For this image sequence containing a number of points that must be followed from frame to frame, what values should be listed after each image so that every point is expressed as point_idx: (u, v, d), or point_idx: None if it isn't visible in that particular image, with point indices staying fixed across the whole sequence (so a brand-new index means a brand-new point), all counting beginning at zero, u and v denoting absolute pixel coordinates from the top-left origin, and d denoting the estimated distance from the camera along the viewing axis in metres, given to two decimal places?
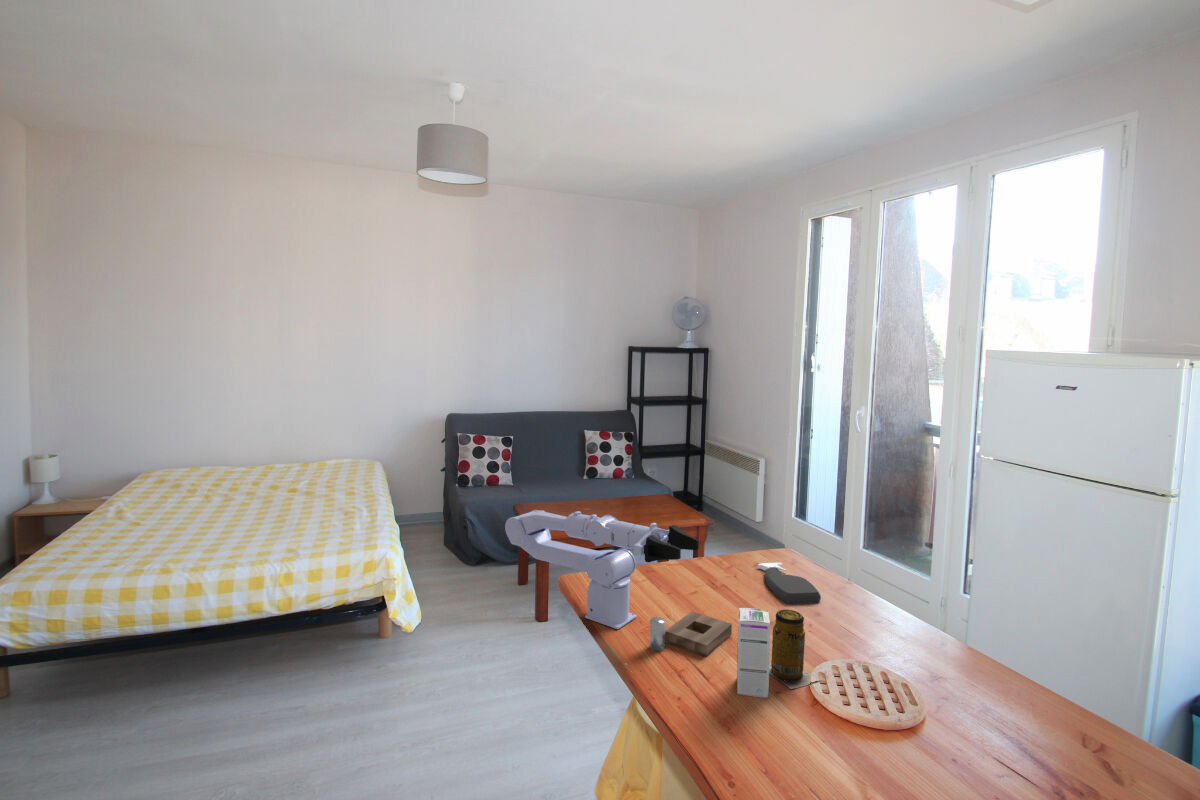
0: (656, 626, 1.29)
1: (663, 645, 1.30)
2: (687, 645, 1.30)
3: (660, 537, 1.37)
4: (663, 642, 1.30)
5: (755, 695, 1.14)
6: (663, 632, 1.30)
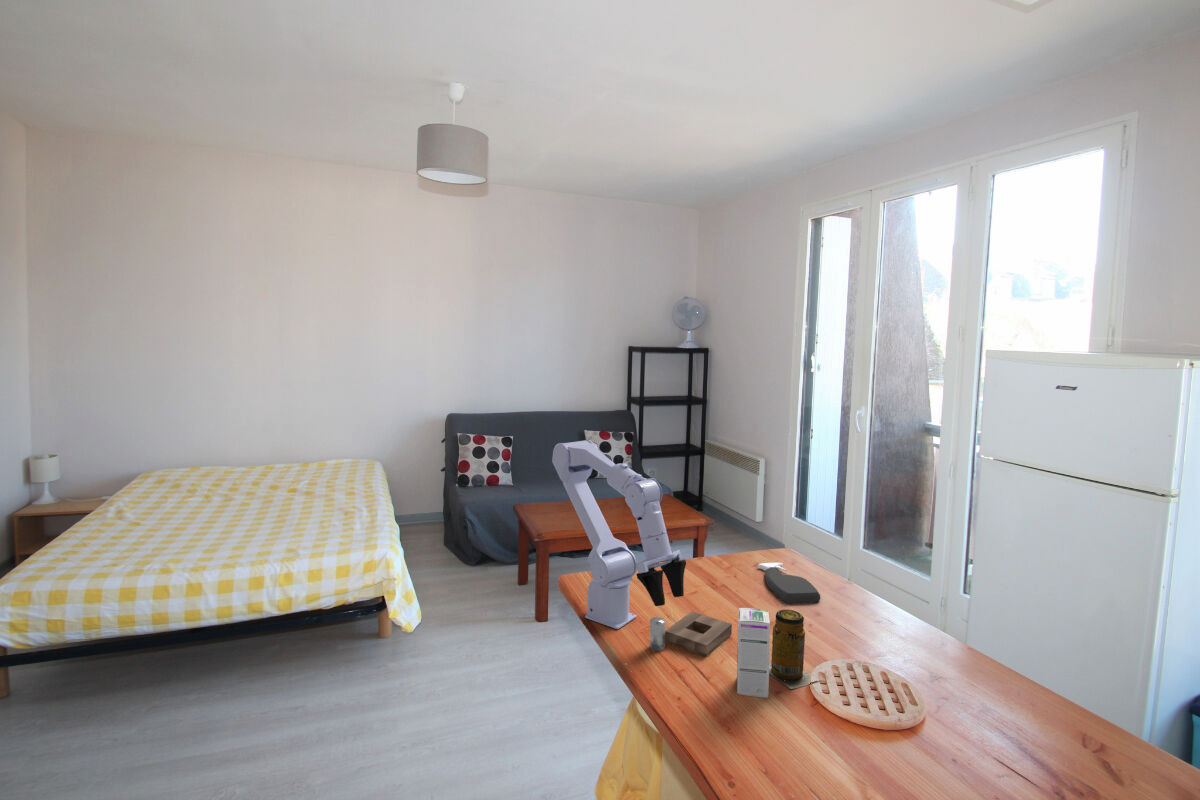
0: (656, 626, 1.29)
1: (663, 645, 1.30)
2: (687, 645, 1.30)
3: None
4: (663, 642, 1.30)
5: (755, 695, 1.14)
6: (663, 632, 1.30)
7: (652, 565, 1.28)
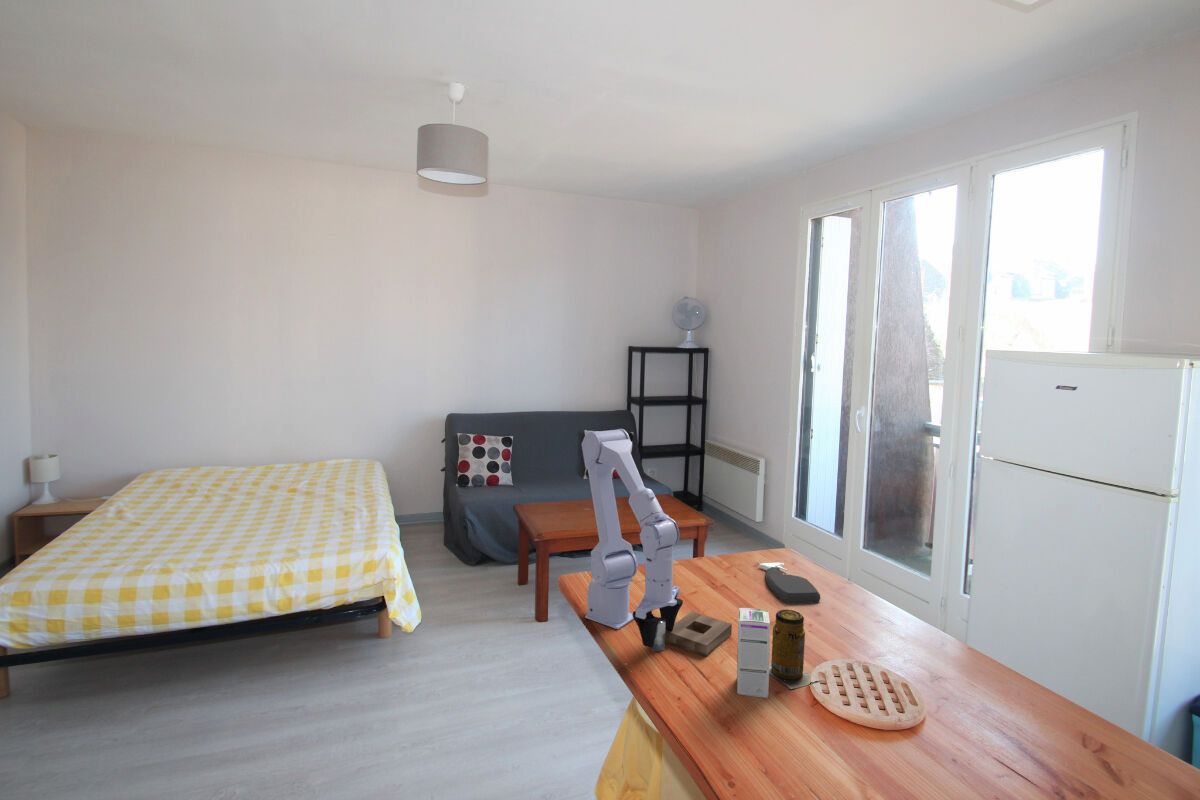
0: None
1: (663, 645, 1.30)
2: (687, 645, 1.30)
3: None
4: (663, 642, 1.30)
5: (755, 695, 1.14)
6: (663, 632, 1.30)
7: None
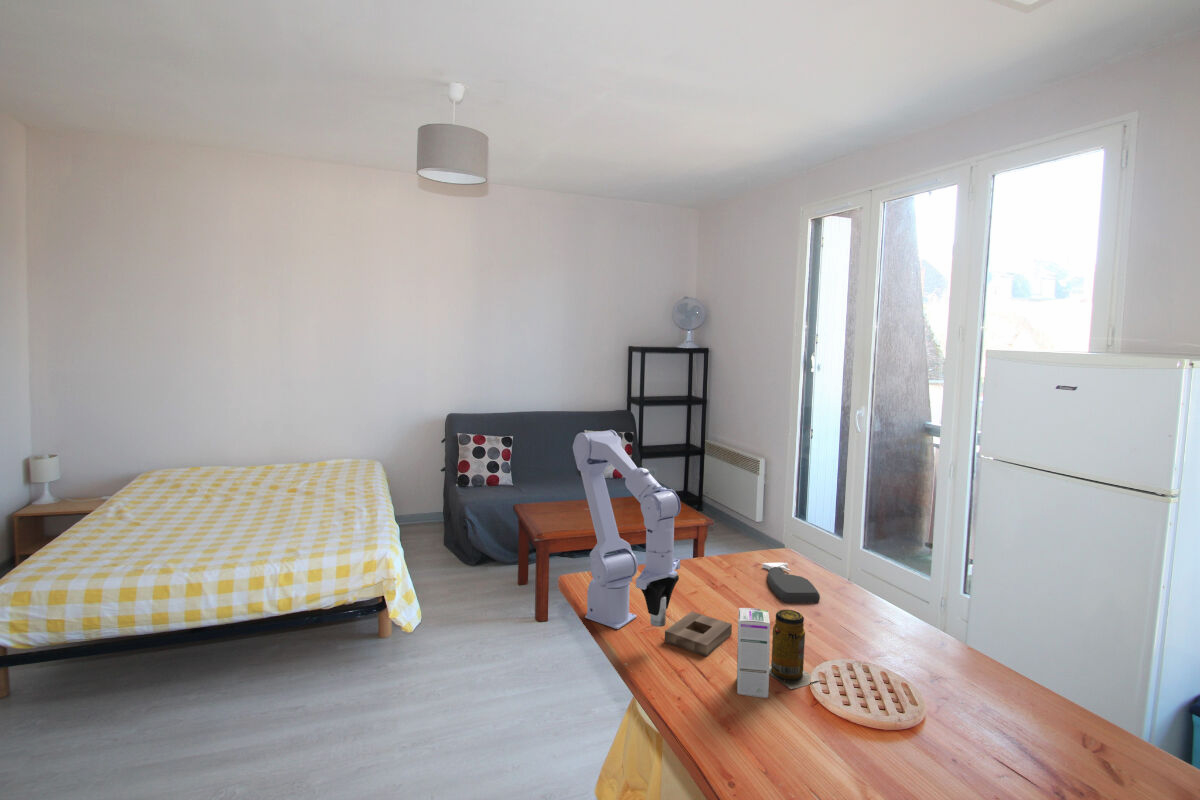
0: None
1: (664, 620, 1.30)
2: (687, 645, 1.30)
3: None
4: (663, 617, 1.29)
5: (755, 695, 1.14)
6: (664, 607, 1.29)
7: None
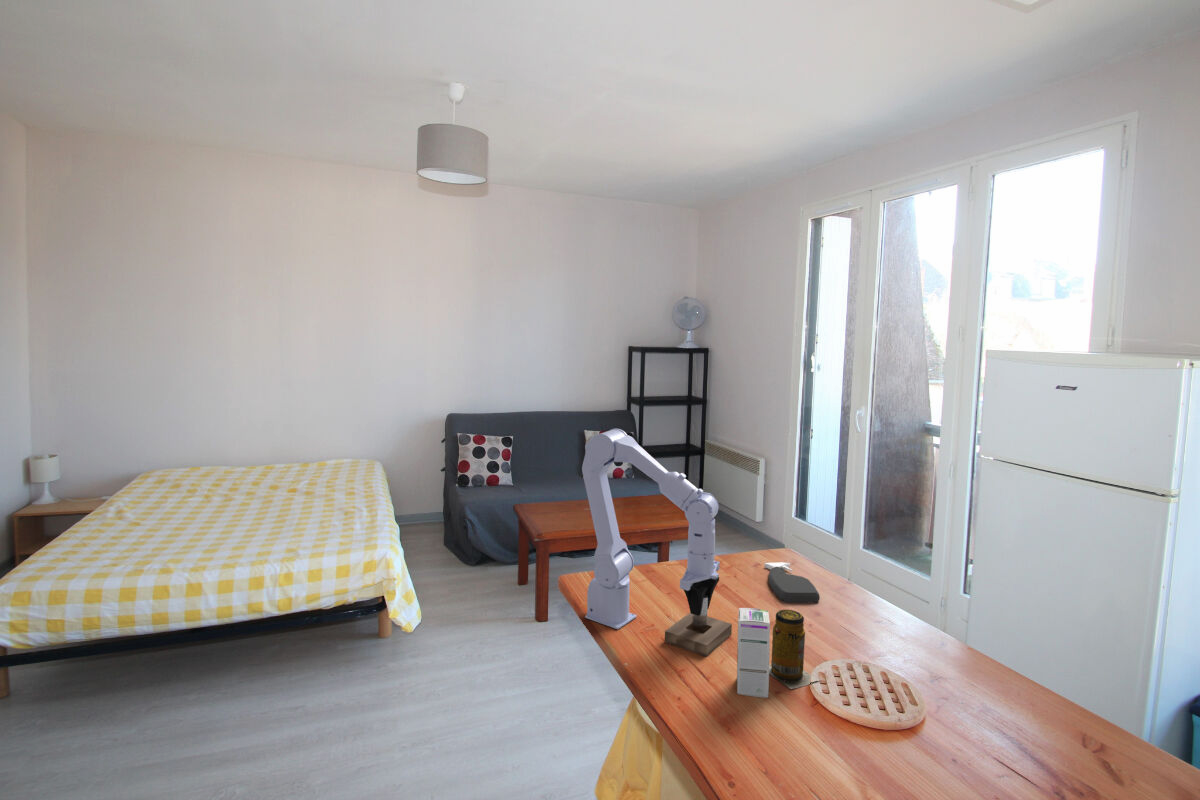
0: None
1: (706, 620, 1.34)
2: (687, 645, 1.30)
3: None
4: (705, 617, 1.34)
5: (755, 695, 1.14)
6: (706, 608, 1.34)
7: None
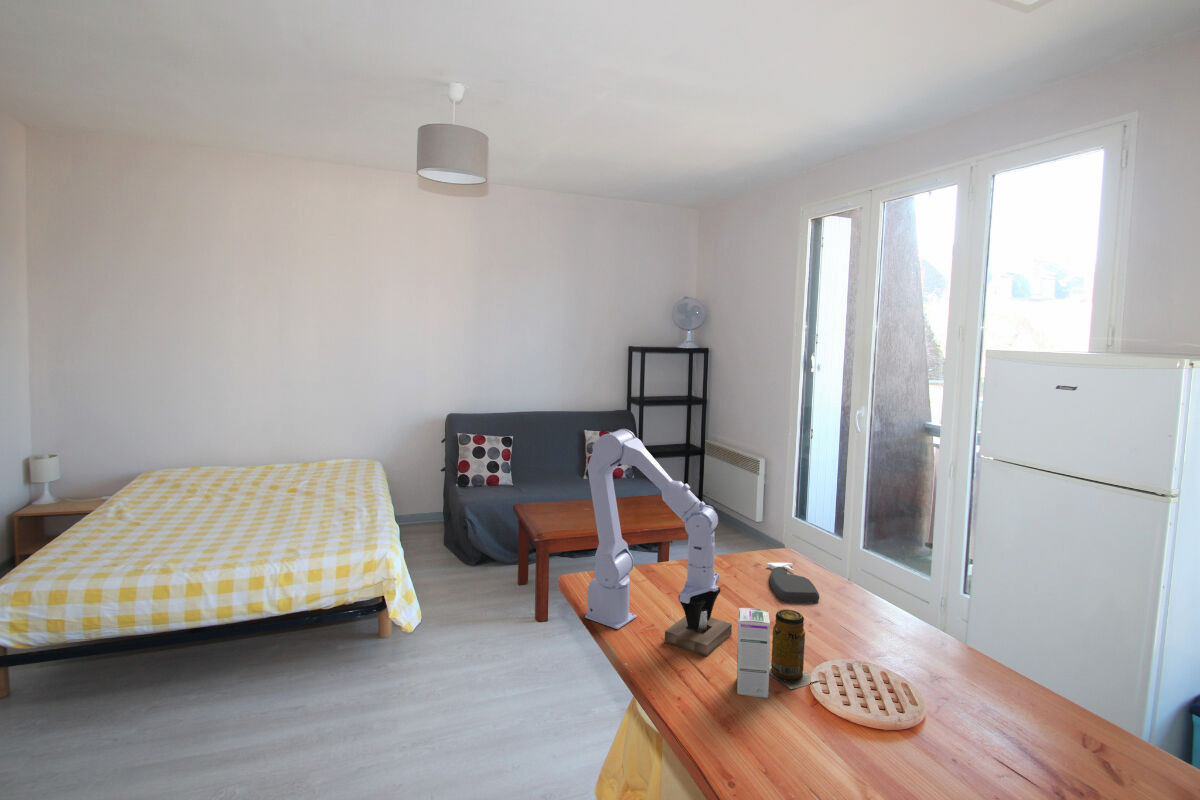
0: None
1: None
2: (687, 645, 1.30)
3: None
4: (705, 630, 1.34)
5: (755, 695, 1.14)
6: (705, 621, 1.34)
7: None
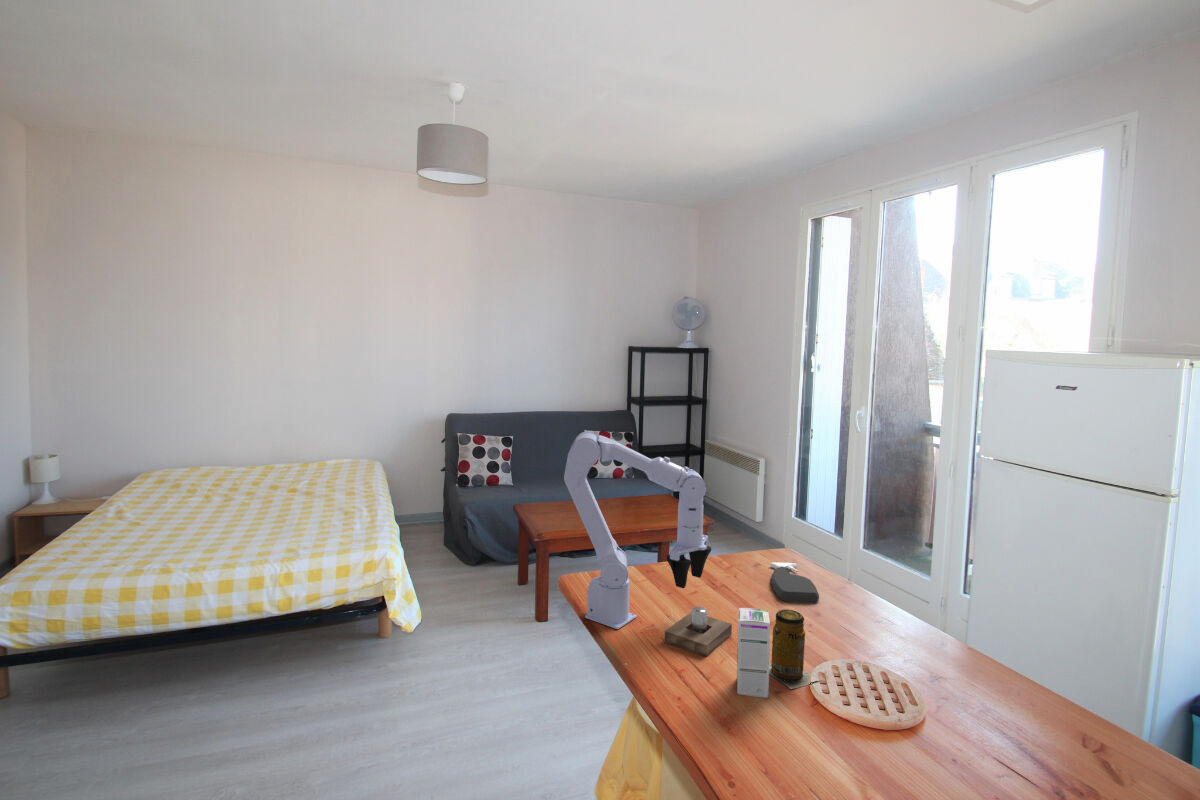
0: (698, 615, 1.33)
1: None
2: (687, 645, 1.30)
3: None
4: (705, 630, 1.34)
5: (755, 695, 1.14)
6: (705, 621, 1.34)
7: None
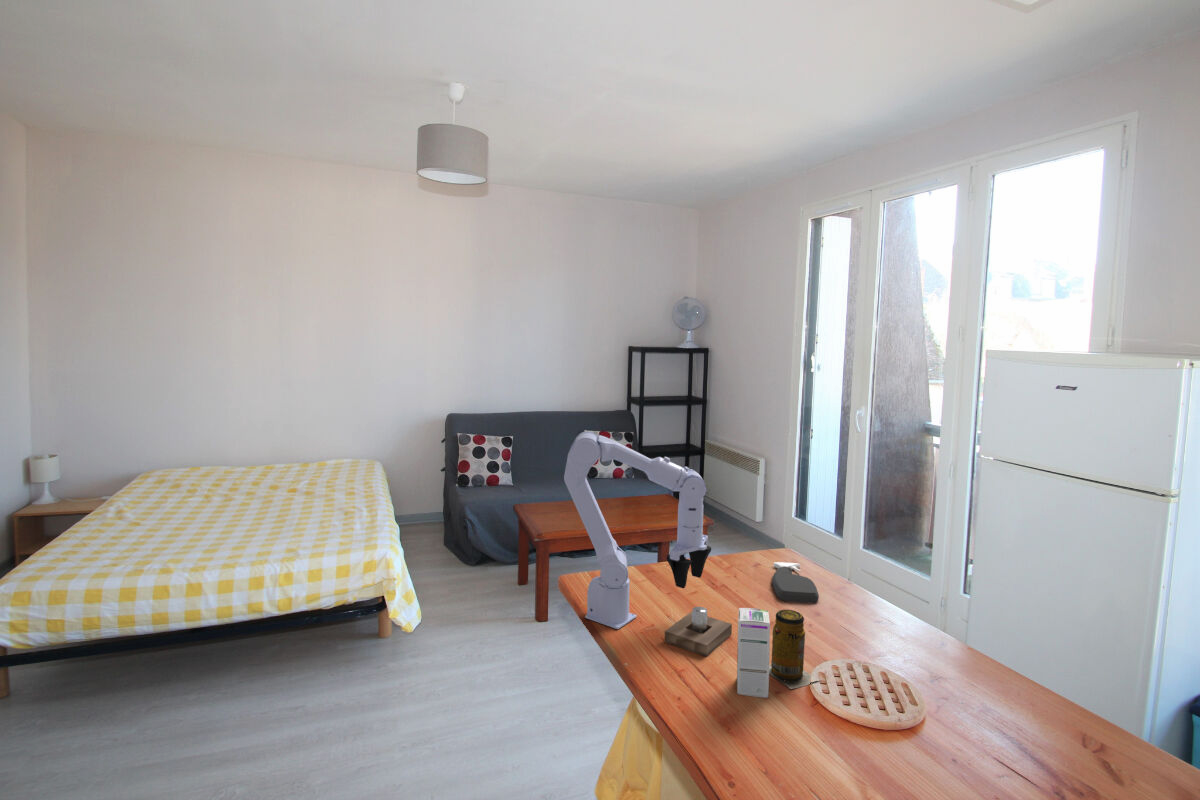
0: (698, 615, 1.33)
1: None
2: (687, 645, 1.30)
3: None
4: (705, 630, 1.34)
5: (755, 695, 1.14)
6: (705, 621, 1.34)
7: None
